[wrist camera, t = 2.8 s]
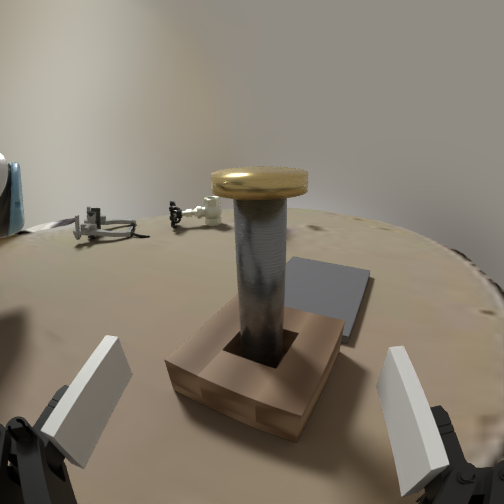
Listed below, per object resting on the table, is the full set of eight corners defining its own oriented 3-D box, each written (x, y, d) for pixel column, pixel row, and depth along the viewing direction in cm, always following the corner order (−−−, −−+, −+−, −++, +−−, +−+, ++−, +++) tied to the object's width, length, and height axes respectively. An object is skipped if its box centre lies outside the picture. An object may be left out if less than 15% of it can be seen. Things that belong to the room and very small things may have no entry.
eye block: (173, 389, 24) (164, 359, 22) (239, 323, 33) (237, 294, 32) (296, 442, 18) (301, 415, 17) (339, 350, 28) (345, 320, 26)
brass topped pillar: (214, 375, 24) (190, 177, 18) (248, 336, 30) (242, 165, 23) (279, 400, 22) (286, 181, 15) (306, 354, 27) (319, 169, 20)
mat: (242, 315, 35) (241, 308, 34) (292, 261, 49) (293, 256, 48) (347, 343, 29) (348, 336, 29) (369, 276, 43) (370, 270, 42)
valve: (221, 219, 73) (174, 223, 71) (219, 194, 70) (171, 198, 69) (222, 227, 67) (171, 232, 65) (221, 199, 64) (168, 204, 63)
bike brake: (70, 244, 58) (149, 247, 63) (68, 216, 56) (149, 218, 61) (86, 227, 71) (155, 229, 75) (86, 203, 68) (155, 205, 73)
